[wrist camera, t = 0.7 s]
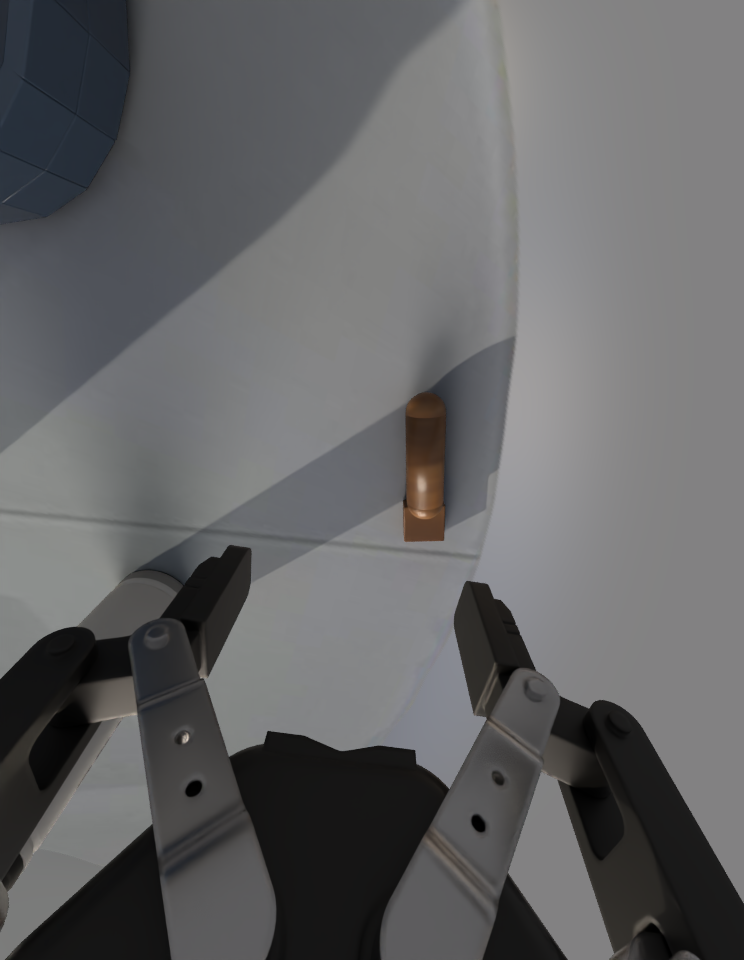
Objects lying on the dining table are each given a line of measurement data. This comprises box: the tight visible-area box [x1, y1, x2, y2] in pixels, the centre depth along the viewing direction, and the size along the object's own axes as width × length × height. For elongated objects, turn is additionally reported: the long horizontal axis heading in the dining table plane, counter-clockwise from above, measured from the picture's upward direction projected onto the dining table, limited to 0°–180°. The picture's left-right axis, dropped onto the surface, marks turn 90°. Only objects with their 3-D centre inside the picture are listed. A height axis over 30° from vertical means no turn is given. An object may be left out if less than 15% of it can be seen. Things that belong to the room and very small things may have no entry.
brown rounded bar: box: [403, 392, 446, 542], centre depth 25 cm, size 11×3×3 cm, turn 3°
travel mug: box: [2, 570, 183, 892], centre depth 23 cm, size 6×7×20 cm
